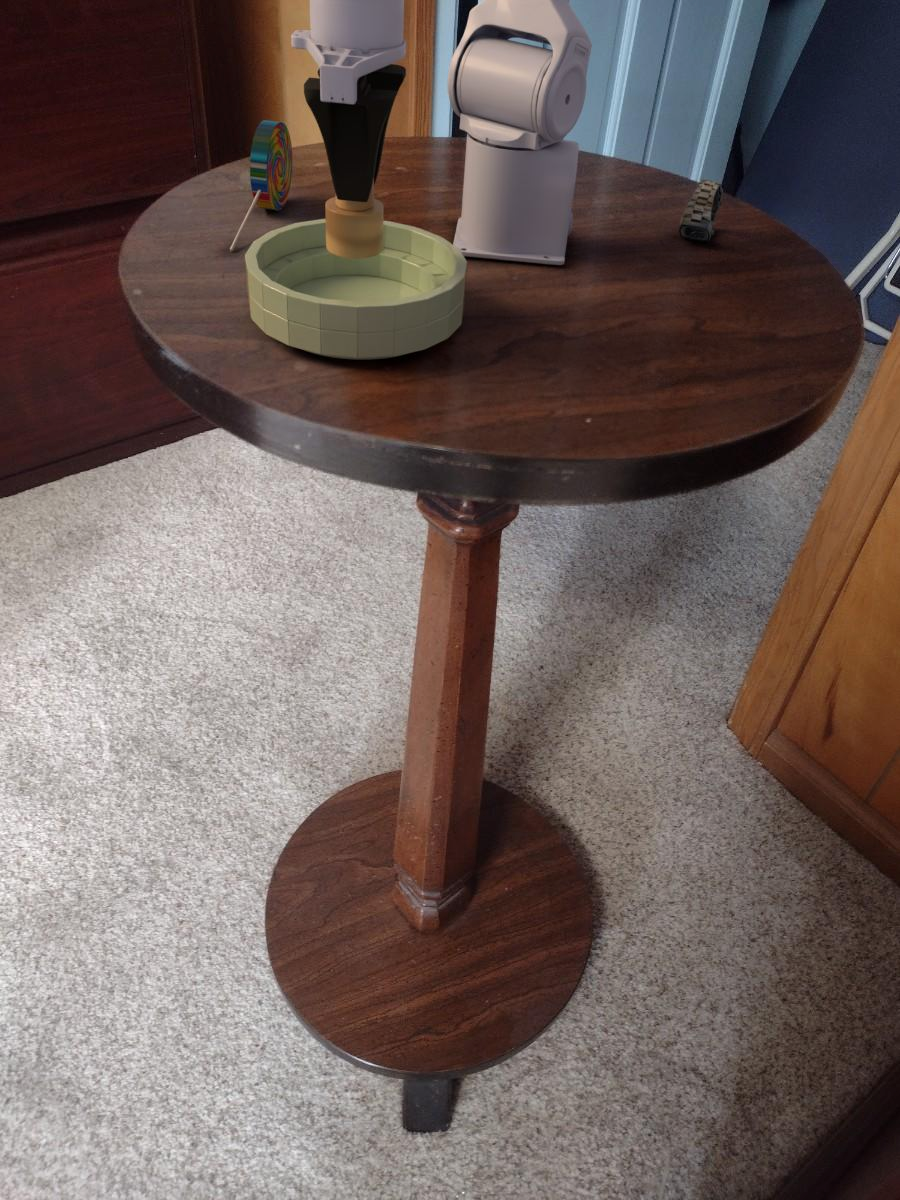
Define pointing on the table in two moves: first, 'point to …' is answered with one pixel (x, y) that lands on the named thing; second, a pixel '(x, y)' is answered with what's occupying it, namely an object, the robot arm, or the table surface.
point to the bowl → (356, 292)
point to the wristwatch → (701, 212)
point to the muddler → (354, 227)
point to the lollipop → (269, 168)
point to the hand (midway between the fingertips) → (356, 191)
